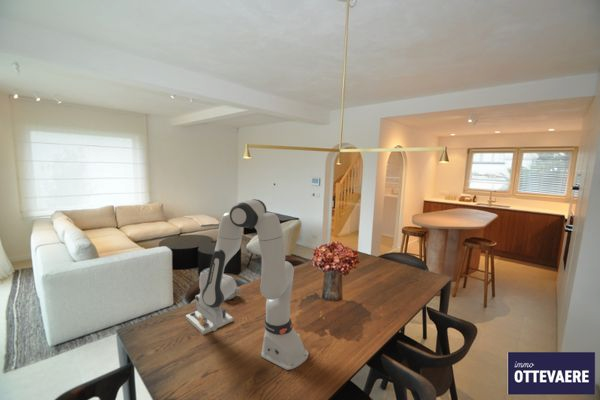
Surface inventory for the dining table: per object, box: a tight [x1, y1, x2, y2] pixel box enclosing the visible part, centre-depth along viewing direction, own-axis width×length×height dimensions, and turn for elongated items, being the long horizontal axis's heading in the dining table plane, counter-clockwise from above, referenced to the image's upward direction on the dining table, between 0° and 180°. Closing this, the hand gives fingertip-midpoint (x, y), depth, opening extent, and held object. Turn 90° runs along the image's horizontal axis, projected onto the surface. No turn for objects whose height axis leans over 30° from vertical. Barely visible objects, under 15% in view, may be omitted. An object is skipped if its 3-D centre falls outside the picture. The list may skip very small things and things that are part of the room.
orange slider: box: [199, 315, 207, 325], centre depth 138 cm, size 4×2×4 cm, turn 47°
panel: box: [185, 310, 234, 336], centre depth 144 cm, size 20×17×6 cm
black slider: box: [220, 306, 227, 317], centre depth 145 cm, size 4×2×4 cm, turn 47°
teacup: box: [225, 287, 242, 301], centre depth 169 cm, size 14×11×8 cm
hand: (209, 326), depth 132 cm, fingers open, 8 cm apart
